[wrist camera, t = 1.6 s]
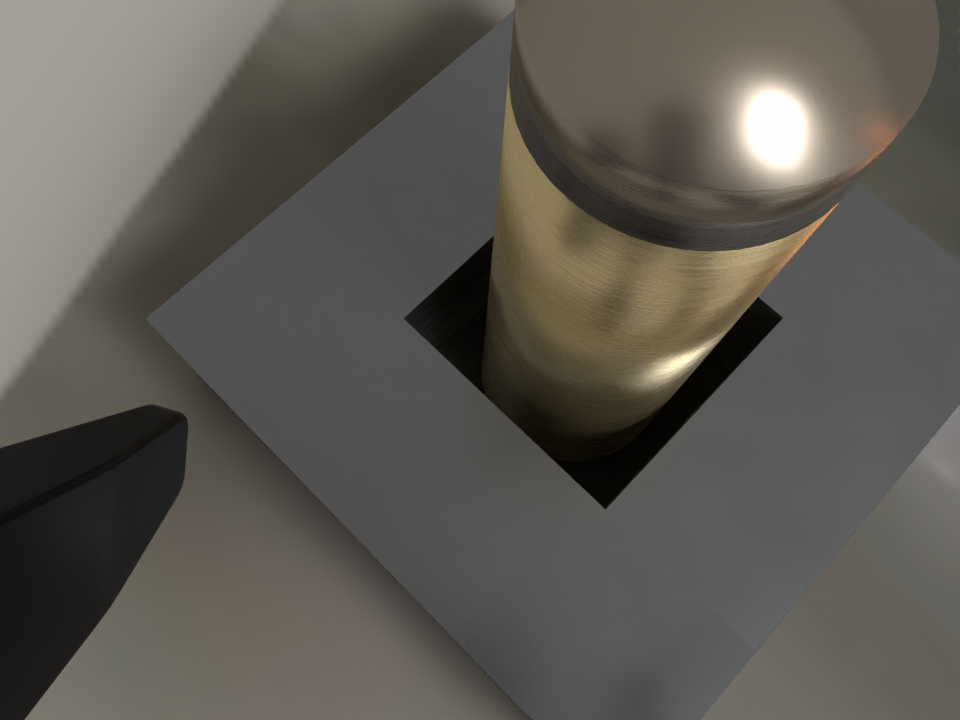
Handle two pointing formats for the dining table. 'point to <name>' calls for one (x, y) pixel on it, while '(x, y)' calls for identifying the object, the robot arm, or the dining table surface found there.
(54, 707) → the dining table surface
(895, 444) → the bore housing
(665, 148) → the brass plug
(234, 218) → the dining table surface
